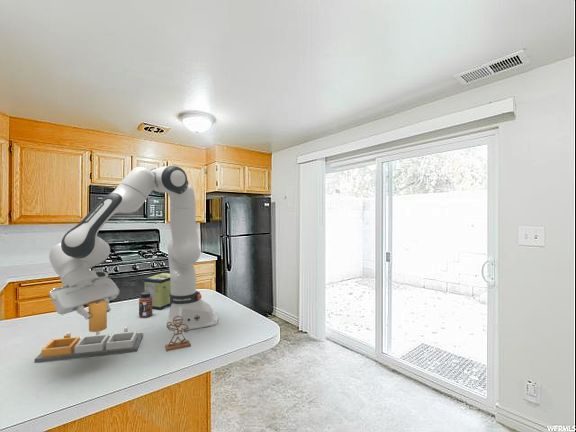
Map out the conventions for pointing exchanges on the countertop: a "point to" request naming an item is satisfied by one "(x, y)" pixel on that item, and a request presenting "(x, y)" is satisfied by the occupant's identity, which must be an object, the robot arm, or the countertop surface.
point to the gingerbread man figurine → (179, 344)
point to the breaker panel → (90, 346)
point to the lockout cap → (98, 316)
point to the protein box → (159, 290)
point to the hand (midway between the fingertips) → (99, 314)
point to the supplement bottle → (145, 305)
